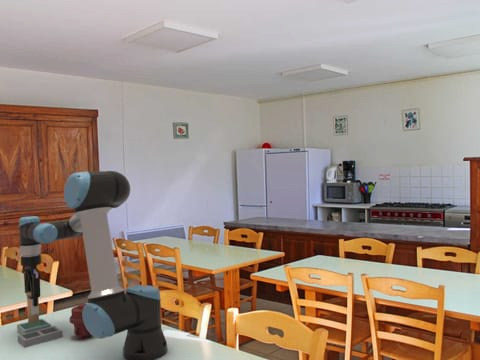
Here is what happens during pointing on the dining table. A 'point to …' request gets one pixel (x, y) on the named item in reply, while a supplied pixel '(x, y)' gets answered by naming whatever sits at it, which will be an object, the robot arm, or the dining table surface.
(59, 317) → the dining table surface
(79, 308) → the mechanical component
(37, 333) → the socket block
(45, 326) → the parts tray
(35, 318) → the fuse
